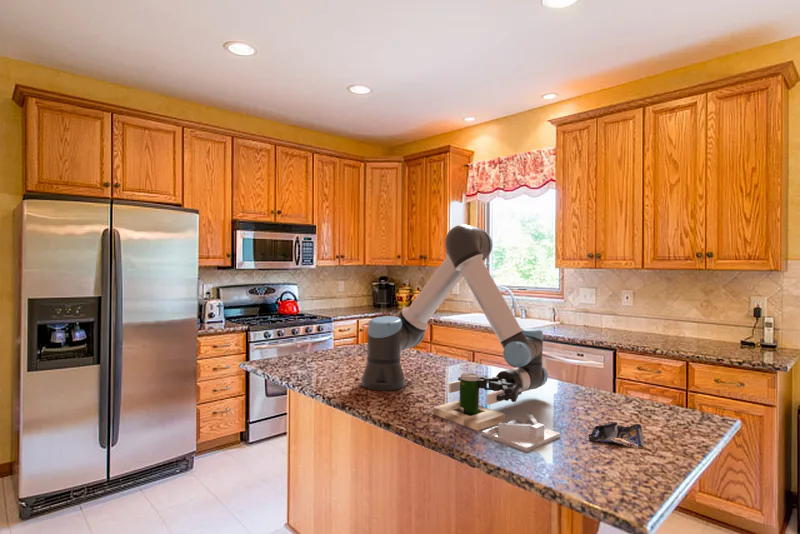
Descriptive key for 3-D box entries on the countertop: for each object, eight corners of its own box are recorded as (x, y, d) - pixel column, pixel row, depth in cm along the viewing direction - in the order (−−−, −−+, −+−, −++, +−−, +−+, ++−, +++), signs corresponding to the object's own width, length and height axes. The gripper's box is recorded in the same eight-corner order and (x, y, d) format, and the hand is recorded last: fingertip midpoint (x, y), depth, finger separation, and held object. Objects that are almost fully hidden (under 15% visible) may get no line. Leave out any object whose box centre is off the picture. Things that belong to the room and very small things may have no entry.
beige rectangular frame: (432, 414, 130) (433, 407, 130) (460, 406, 138) (460, 399, 138) (477, 430, 118) (477, 423, 118) (505, 421, 126) (505, 413, 126)
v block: (481, 435, 115) (482, 419, 115) (516, 422, 125) (516, 408, 125) (526, 452, 105) (527, 434, 105) (560, 437, 115) (560, 421, 115)
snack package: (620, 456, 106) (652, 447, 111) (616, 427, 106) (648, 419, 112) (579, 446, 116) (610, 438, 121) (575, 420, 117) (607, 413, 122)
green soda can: (467, 422, 124) (469, 378, 124) (454, 416, 129) (456, 373, 128) (482, 419, 127) (483, 376, 127) (469, 413, 131) (470, 371, 131)
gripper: (548, 404, 132) (505, 419, 117) (479, 385, 150) (434, 396, 136) (549, 378, 132) (506, 390, 117) (480, 362, 150) (435, 371, 136)
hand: (467, 393), depth 127 cm, fingers open, 13 cm apart
